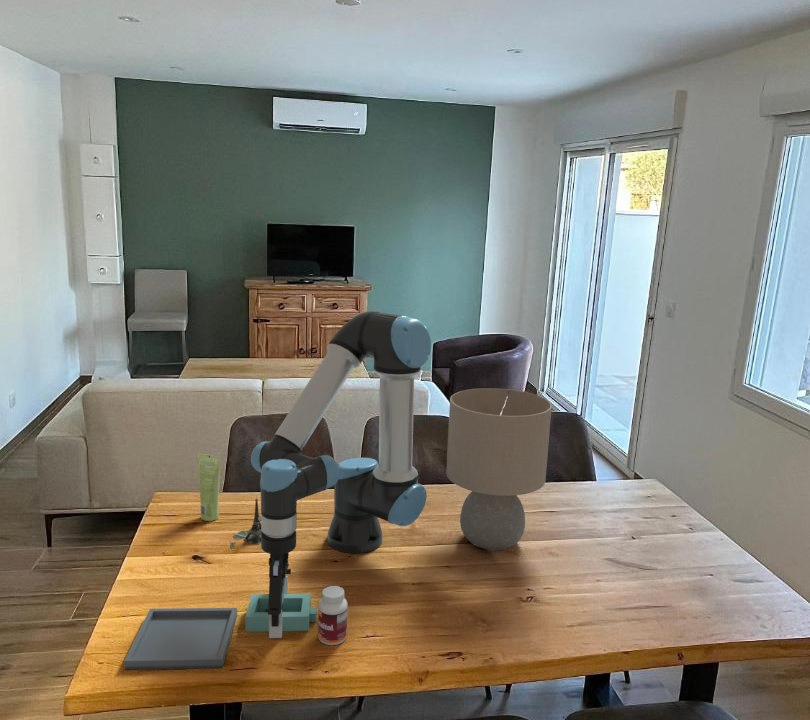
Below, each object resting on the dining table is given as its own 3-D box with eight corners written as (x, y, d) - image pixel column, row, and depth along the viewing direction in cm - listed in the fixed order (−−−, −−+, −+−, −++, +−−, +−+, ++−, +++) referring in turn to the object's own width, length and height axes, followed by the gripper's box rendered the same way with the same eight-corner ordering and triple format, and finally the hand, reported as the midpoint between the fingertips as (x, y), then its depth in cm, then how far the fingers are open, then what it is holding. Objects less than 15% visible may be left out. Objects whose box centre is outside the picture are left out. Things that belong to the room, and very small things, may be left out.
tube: (219, 512, 207) (217, 450, 202) (222, 519, 202) (220, 456, 198) (199, 515, 204) (197, 453, 200) (202, 523, 200) (200, 458, 195)
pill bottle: (311, 637, 149) (312, 591, 147) (332, 625, 154) (333, 580, 151) (332, 650, 145) (332, 603, 143) (352, 637, 150) (353, 591, 148)
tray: (237, 615, 156) (237, 607, 156) (222, 668, 139) (222, 659, 138) (150, 616, 155) (150, 608, 154) (124, 669, 137) (124, 660, 137)
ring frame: (317, 607, 160) (317, 593, 160) (315, 630, 152) (315, 616, 151) (251, 608, 159) (251, 594, 159) (245, 631, 151) (245, 617, 150)
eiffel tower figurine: (282, 528, 199) (282, 484, 197) (287, 545, 190) (287, 499, 187) (228, 534, 195) (227, 489, 192) (230, 551, 186) (229, 504, 183)
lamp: (495, 576, 176) (505, 422, 167) (423, 537, 196) (429, 397, 187) (559, 545, 194) (572, 404, 185) (487, 512, 213) (496, 383, 204)
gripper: (267, 506, 163) (268, 588, 167) (253, 559, 138) (254, 654, 143) (300, 506, 163) (299, 588, 168) (291, 559, 139) (291, 653, 143)
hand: (278, 618), depth 155 cm, fingers open, 13 cm apart
